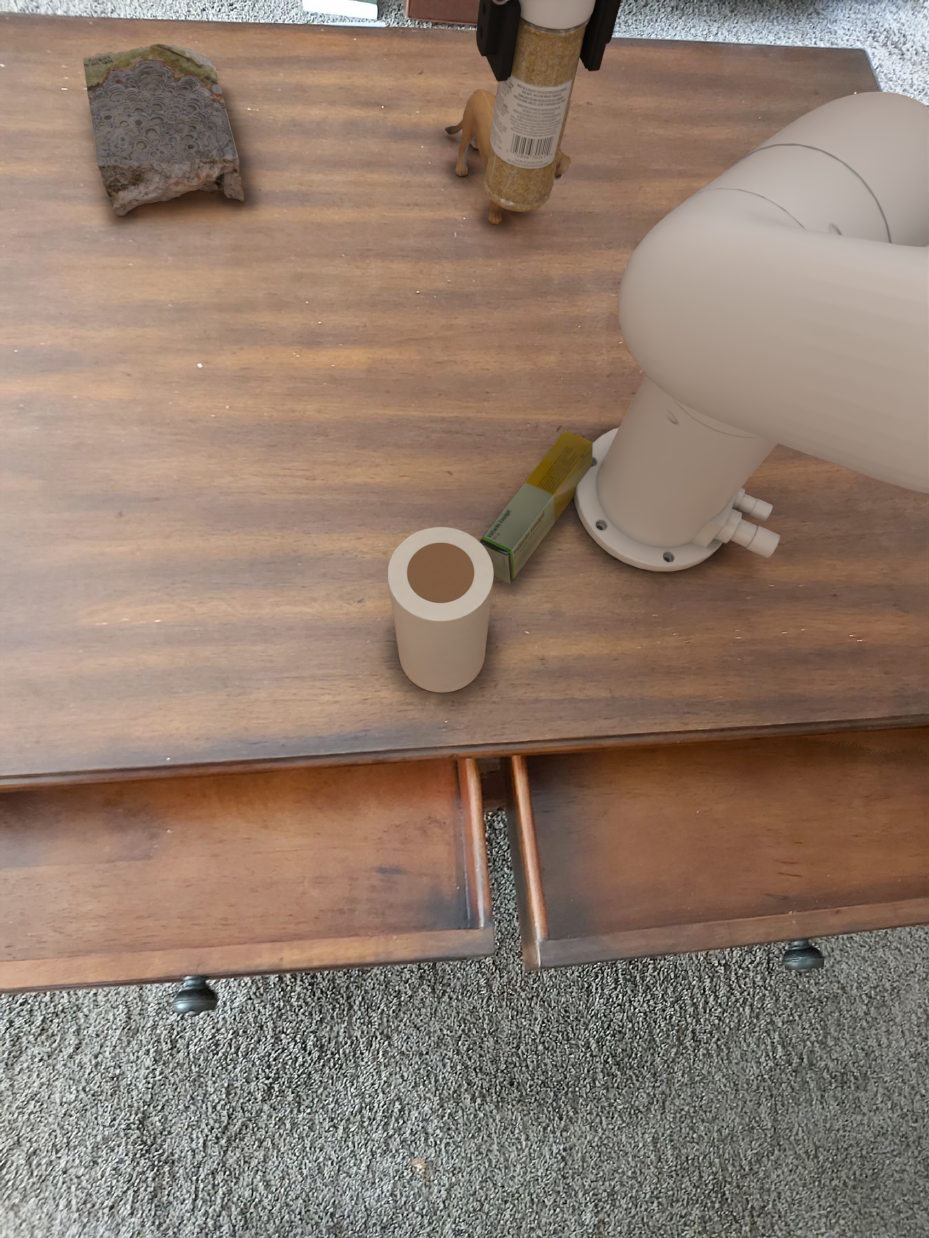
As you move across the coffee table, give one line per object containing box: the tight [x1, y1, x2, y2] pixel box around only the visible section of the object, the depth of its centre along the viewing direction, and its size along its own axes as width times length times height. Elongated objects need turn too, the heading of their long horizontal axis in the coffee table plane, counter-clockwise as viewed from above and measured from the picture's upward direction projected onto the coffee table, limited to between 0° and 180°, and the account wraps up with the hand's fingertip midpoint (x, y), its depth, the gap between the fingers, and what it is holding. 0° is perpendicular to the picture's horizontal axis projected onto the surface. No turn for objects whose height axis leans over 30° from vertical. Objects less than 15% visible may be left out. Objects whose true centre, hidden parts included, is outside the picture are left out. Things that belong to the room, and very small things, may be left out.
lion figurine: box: [444, 88, 572, 225], centre depth 71 cm, size 15×5×9 cm, turn 35°
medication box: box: [479, 430, 593, 585], centre depth 62 cm, size 12×3×4 cm, turn 146°
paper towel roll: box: [387, 526, 495, 693], centre depth 52 cm, size 6×6×12 cm
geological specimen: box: [82, 43, 246, 217], centre depth 70 cm, size 11×6×15 cm
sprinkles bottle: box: [482, 0, 596, 213], centre depth 48 cm, size 5×5×13 cm
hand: (540, 56), depth 46 cm, fingers closed on sprinkles bottle, 4 cm apart
